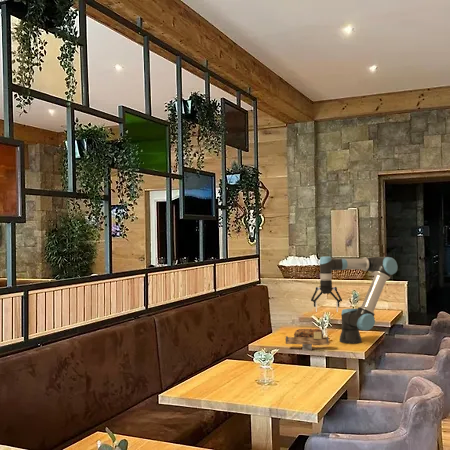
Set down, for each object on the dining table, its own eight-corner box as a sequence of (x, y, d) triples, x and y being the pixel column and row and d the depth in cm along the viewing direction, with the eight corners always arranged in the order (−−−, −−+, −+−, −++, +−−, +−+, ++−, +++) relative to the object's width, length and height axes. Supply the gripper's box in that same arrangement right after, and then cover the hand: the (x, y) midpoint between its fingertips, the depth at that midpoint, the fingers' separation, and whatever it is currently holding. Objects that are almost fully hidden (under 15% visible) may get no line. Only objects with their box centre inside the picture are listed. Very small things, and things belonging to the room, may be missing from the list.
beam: (328, 348, 367) (328, 336, 367) (328, 350, 360) (328, 339, 360) (286, 347, 372) (286, 336, 372) (285, 350, 364) (285, 338, 364)
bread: (323, 342, 386) (323, 328, 386) (319, 345, 376) (319, 331, 377) (297, 340, 394) (297, 326, 394) (293, 343, 384) (293, 329, 384)
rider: (321, 339, 367) (321, 331, 367) (321, 341, 361) (321, 333, 361) (313, 339, 368) (313, 331, 368) (313, 341, 362) (313, 333, 362)
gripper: (344, 279, 366) (345, 311, 366) (307, 279, 370) (307, 310, 370) (345, 280, 359) (346, 312, 359) (306, 280, 363) (307, 312, 363)
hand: (326, 311), depth 364 cm, fingers open, 13 cm apart
